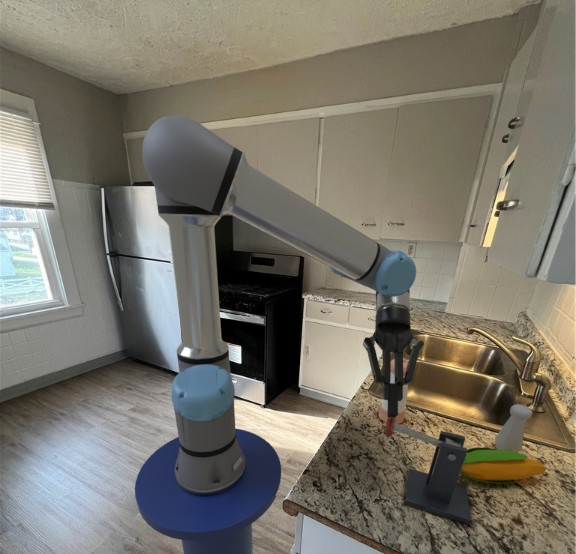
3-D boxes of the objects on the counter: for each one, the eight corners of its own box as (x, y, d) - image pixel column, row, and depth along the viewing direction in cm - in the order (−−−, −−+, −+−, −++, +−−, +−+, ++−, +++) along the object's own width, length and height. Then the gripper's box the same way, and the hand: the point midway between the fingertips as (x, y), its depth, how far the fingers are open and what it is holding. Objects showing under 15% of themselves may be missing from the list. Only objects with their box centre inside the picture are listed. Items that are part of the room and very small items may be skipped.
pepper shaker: (406, 415, 95) (419, 357, 86) (400, 427, 89) (414, 366, 81) (382, 407, 98) (392, 351, 90) (375, 418, 92) (385, 359, 84)
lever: (382, 435, 63) (386, 426, 61) (386, 420, 68) (390, 411, 66) (456, 465, 59) (462, 456, 58) (454, 446, 64) (460, 437, 63)
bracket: (404, 504, 65) (419, 447, 58) (407, 472, 73) (420, 419, 67) (469, 525, 61) (493, 466, 54) (464, 488, 69) (484, 434, 63)
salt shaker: (518, 460, 78) (538, 417, 72) (492, 452, 80) (509, 409, 75) (517, 447, 82) (536, 405, 77) (492, 439, 85) (508, 398, 79)
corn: (454, 439, 72) (540, 441, 72) (445, 463, 76) (527, 465, 76) (470, 463, 66) (564, 465, 66) (459, 488, 69) (549, 490, 70)
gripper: (417, 323, 74) (419, 422, 66) (361, 319, 76) (357, 416, 68) (427, 306, 67) (432, 415, 59) (366, 303, 69) (362, 408, 61)
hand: (392, 415), depth 64 cm, fingers closed
